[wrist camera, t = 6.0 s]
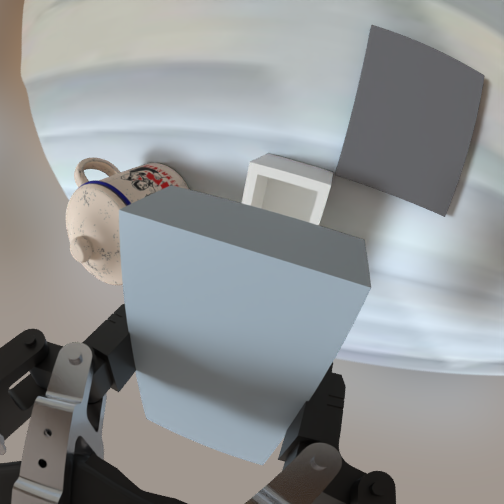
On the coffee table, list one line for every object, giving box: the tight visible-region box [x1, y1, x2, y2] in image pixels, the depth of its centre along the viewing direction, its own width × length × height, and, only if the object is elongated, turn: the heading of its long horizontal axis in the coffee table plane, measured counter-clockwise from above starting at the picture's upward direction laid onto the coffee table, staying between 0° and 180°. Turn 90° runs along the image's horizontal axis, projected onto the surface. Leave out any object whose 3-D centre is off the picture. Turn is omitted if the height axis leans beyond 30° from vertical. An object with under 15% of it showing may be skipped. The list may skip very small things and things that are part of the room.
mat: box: [335, 25, 484, 217], centre depth 18 cm, size 13×10×1 cm
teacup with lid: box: [66, 158, 189, 285], centre depth 23 cm, size 12×9×12 cm
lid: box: [119, 185, 371, 465], centre depth 10 cm, size 11×6×3 cm, turn 168°
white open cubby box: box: [242, 153, 333, 225], centre depth 23 cm, size 9×6×5 cm, turn 167°
